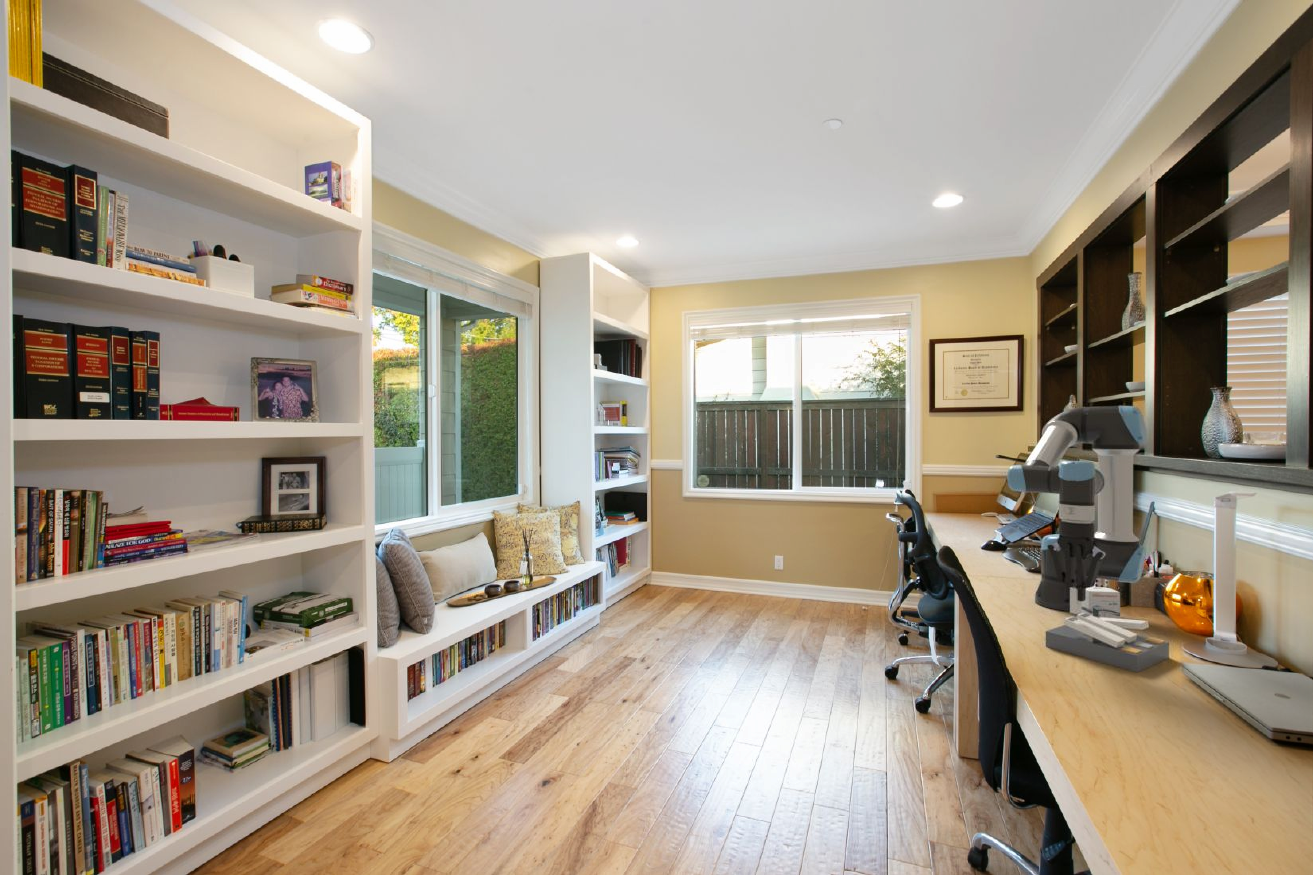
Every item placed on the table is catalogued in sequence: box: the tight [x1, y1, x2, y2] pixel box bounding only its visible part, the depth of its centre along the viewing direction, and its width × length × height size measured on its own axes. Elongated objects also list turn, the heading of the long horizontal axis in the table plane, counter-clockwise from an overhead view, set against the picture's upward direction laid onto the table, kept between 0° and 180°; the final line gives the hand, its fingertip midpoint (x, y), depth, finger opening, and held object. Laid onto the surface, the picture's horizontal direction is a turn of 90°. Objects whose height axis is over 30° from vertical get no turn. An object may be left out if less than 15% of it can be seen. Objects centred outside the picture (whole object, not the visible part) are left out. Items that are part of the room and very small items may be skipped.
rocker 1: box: [1063, 615, 1126, 648], centre depth 150 cm, size 4×12×2 cm, turn 31°
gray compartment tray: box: [1045, 624, 1170, 673], centre depth 153 cm, size 18×20×5 cm
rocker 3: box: [1097, 617, 1150, 630], centre depth 156 cm, size 4×12×2 cm, turn 31°
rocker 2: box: [1075, 612, 1138, 643], centre depth 153 cm, size 4×12×2 cm, turn 31°
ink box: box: [1079, 586, 1121, 619], centre depth 170 cm, size 9×5×12 cm, turn 84°
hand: (1075, 612), depth 153 cm, fingers closed
